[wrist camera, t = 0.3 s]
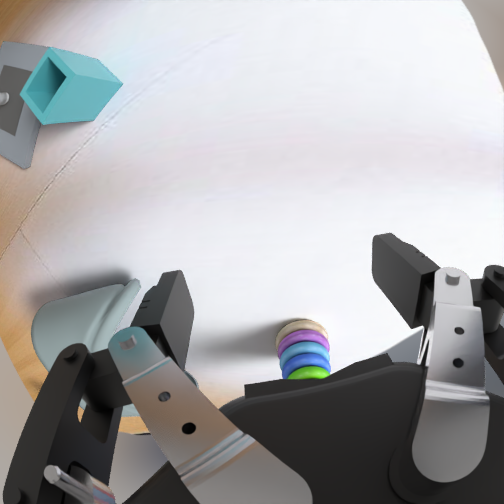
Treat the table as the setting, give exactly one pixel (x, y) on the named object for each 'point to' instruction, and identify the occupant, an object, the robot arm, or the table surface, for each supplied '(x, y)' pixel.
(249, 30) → the table surface
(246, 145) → the table surface
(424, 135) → the table surface
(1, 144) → the post plate
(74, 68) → the teal square container
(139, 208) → the table surface
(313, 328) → the stacking toy
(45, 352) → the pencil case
